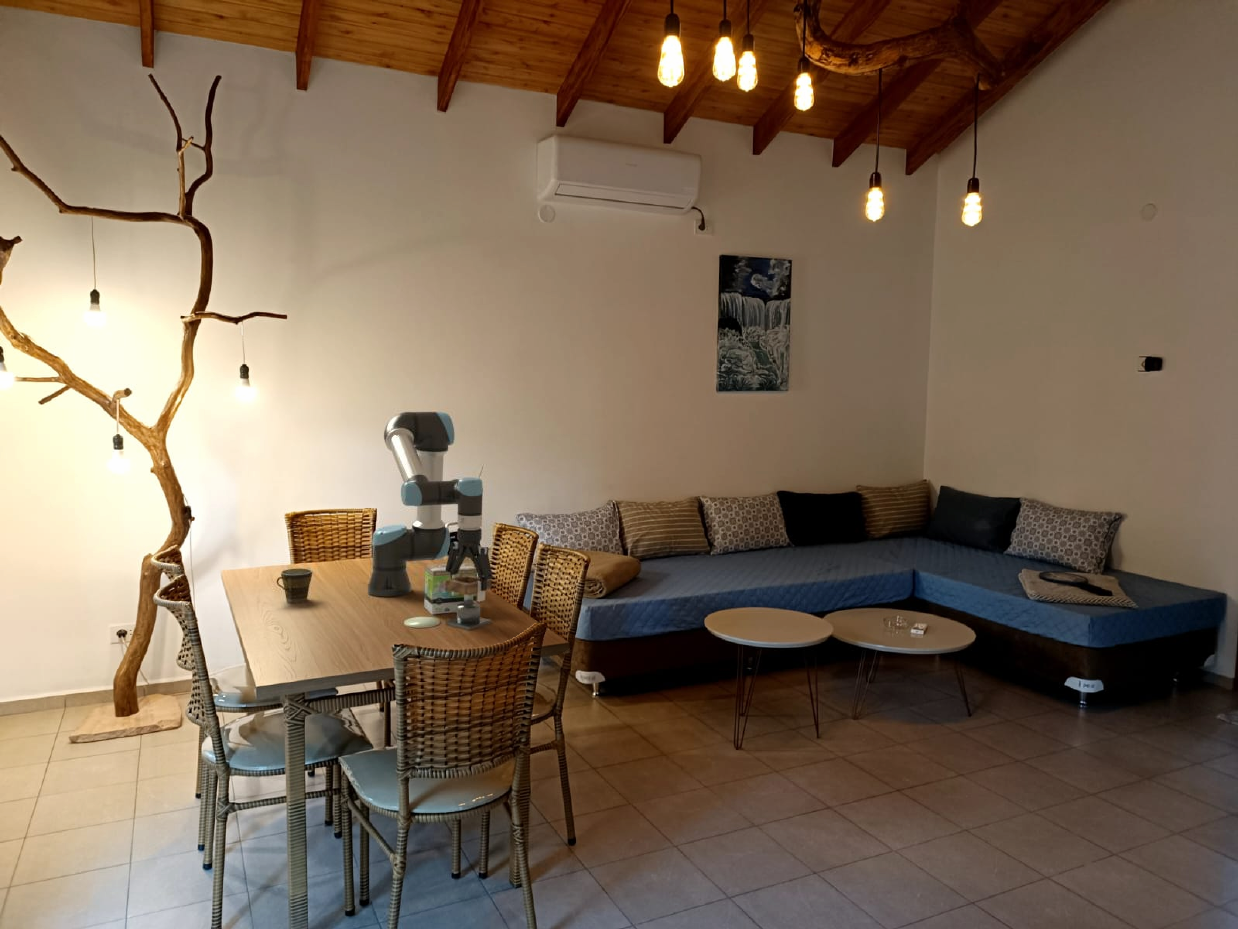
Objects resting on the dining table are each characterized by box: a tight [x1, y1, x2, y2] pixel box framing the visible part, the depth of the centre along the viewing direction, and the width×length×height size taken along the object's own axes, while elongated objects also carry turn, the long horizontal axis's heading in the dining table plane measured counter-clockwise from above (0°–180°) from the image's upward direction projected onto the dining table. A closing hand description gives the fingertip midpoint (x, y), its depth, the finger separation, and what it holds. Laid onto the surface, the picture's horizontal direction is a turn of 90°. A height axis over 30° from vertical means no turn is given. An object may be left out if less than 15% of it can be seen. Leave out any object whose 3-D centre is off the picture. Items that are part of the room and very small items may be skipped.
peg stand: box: [444, 594, 492, 631], centre depth 271 cm, size 10×10×12 cm
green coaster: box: [403, 616, 441, 629], centre depth 271 cm, size 11×11×1 cm
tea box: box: [423, 562, 478, 615], centre depth 287 cm, size 15×10×15 cm, turn 117°
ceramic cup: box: [276, 567, 313, 604], centre depth 291 cm, size 13×10×10 cm
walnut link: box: [445, 575, 492, 595], centre depth 270 cm, size 10×10×3 cm
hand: (468, 597), depth 271 cm, fingers closed on walnut link, 10 cm apart
